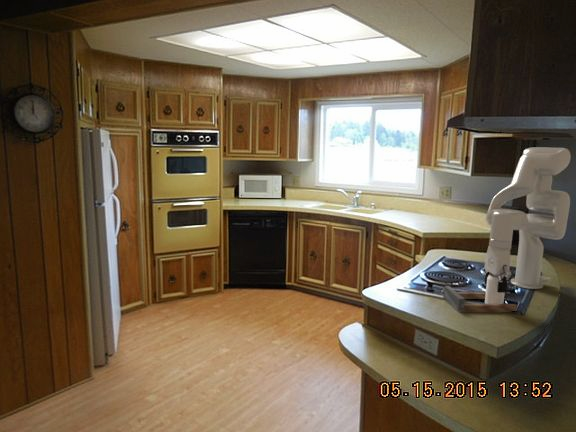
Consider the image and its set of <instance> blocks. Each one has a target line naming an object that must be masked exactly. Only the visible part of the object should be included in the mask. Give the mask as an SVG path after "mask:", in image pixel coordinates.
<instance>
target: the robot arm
mask: <svg viewBox="0 0 576 432" xmlns="http://www.w3.org/2000/svg"><path fill="white" fill-rule="evenodd" d="M571 155H572V154H571V152H570V150H569V149H568V148H565V147H547V146H546V147H544V146H542V147H540V146H539V147H538V146H536V147H528V148H525V149H524V150H523V152H522V155H521V156H520V158H519V160H518V163H517V165H516V168H515V171H514V173H513V177H512V178H511V182H510V184H509V185H507V186H505V187H504V188H503V189H501V190H500V191H499V192H498V193H496V194H495V195H494V197H493V198H492V199H491V201H490V205H489V207H488V210H487V213H486V218H485V220H486V222H487V224H488V225H489V226H490V231H489V232H490V233H489V242H488V247H487V251H486V255H485V260H484V273H485V275H484V276H485V277H484V284H485V285H487V277H488V276H489V273H491V274H493V275H495V276H497V275H498V277H499V281H500V282H498V289H497V292H500V293H505V294H506V293H507V289H508V283H509V281H510V283H511V284H512V285H514V286H515V287H518V288H521V289H522V288H523V289H528V290H539V289H543V288H544V282H547V283H549V282H552V279H551V277H548V276H547V277H546V276H543V275H541V273H542V265H543V256H544V248H545V247H544V244H543V242H542V241H541V239H540V238H543V239H549V240H562V239H563V238H564V237H565V234H566V232H567V231H566V230H567V226H568V225H567V224H568V218H569V212H570V207H571V197H570V195H569V194H568V192H566V191H563V190H556V189H555V190H554V189H552V184H553V176H557V175H559V174H560V173H561V172H562V171H564V170H565V169H566V168H567V167H568V165H569V164H570V162H571V157H572V156H571ZM524 196H526V202H525V204H526V205H525V206H526V208H527V209H528V210H531V211H535V212H542V213H549V214H550V213H551V214H553V216H552V215H545V214H538V213H526V212H524V211H522V210H517V209H511V208H503V207H502V206H503V205H504V204H505V203H507V202H509V201H511V200H514V199H517V198H521V197H524ZM514 231H518V235H519V237H518V240H519V241H518V250H517V259H516V268H515V277H513V278H511V276H512V272H511V270H510V267H511V250H512V243H513V242H512V241H513V236H514V235H513V234H514ZM502 276H504V277H503V278H502Z"/></svg>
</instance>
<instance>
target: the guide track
mask: <svg viewBox="0 0 576 432" xmlns="http://www.w3.org/2000/svg"><path fill="white" fill-rule="evenodd" d="M485 295H486V291H484V292H483V291H482V292H481V291H480V292H479V291H478V292H477V291H476V292H475V291H473V292H471V291H456V290H455V289H453V288H452V287H451V286H449V285H444V287H443V295H442V296H443V297H442V298H443V299H444V300H445V301H446V302H447V303H448V304H449V306H452V308H453V309H454V310H455V311H456V312H460V313H461V312H462V313H464V312H465V313H466V312H467V313H474V312H475V313H511V312H510V311H517V310H518V305H517V304H516V303H503V304H485V303H465V299H485ZM517 312H518V311H517Z"/></svg>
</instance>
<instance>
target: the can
mask: <svg viewBox="0 0 576 432" xmlns="http://www.w3.org/2000/svg"><path fill="white" fill-rule="evenodd" d="M503 277H504V276H502V278H503ZM498 282H500V281H499V277H498V275H497V276H495V275H493V274H491V273H489V276H488V277H487V284H485V285H486V287H485V292H486V295H485V300H484V304H505V303H504V302H505V294H506V293H500V292H497V289H498Z"/></svg>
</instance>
